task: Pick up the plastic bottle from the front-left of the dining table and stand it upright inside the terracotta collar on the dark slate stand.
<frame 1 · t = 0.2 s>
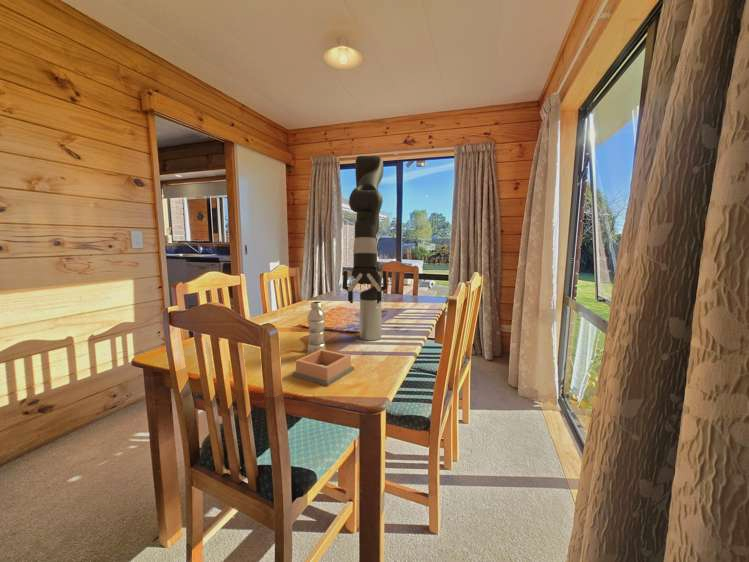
hand: (364, 303, 106), 23 cm above the table, tool pointing down, fingers open, 8 cm apart
collar stand: (324, 372, 107), on the table
plastic bottle: (317, 356, 122), on the table
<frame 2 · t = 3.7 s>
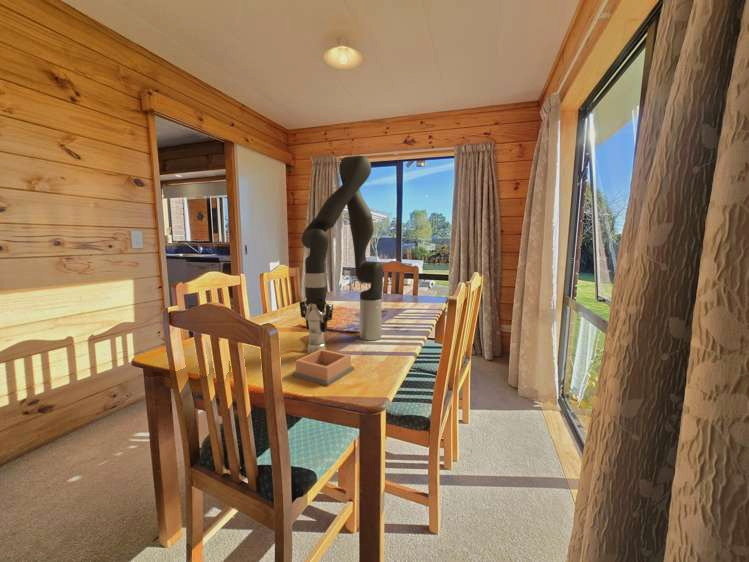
hand: (316, 330, 121), 10 cm above the table, tool pointing down, fingers closed on plastic bottle, 6 cm apart
plastic bottle: (317, 356, 122), on the table, touching gripper
when the fingers open (12 cm above the table, at t = 9.9 s): plastic bottle drops 1 cm, resting on collar stand.
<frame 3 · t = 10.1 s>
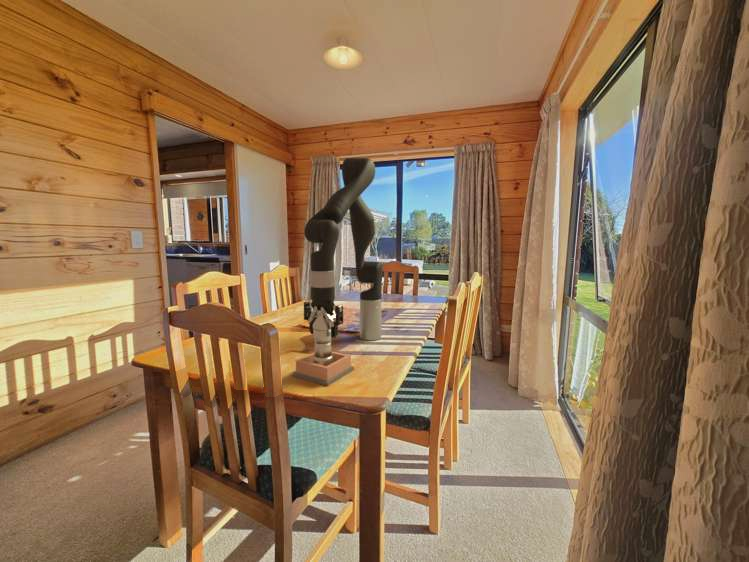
hand: (323, 335, 105), 12 cm above the table, tool pointing down, fingers open, 8 cm apart
plastic bottle: (323, 370, 107), point 1 cm above the table, touching collar stand
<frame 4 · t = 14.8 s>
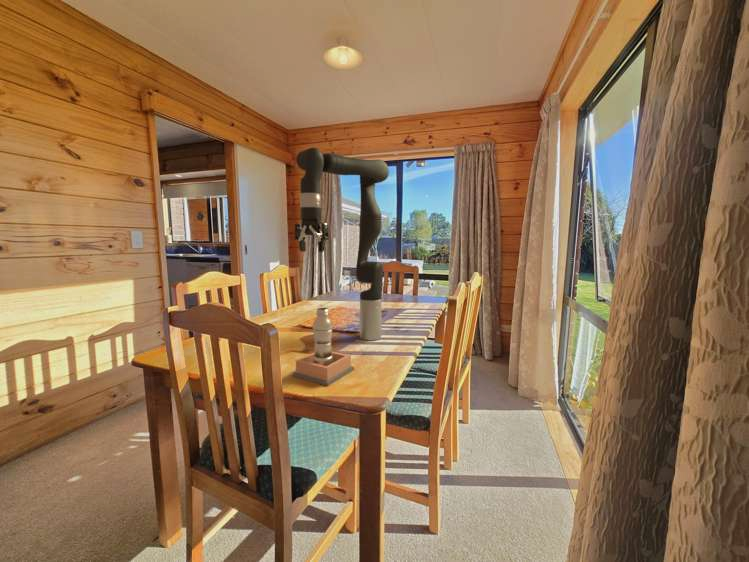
hand: (311, 251, 122), 38 cm above the table, tool pointing down, fingers open, 8 cm apart
nothing on the table moved.
at the end: plastic bottle 0.3 cm off-centre on the collar stand, point 0.8 cm above the collar stand's base; plastic bottle tilted 0°; the gripper is holding nothing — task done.
